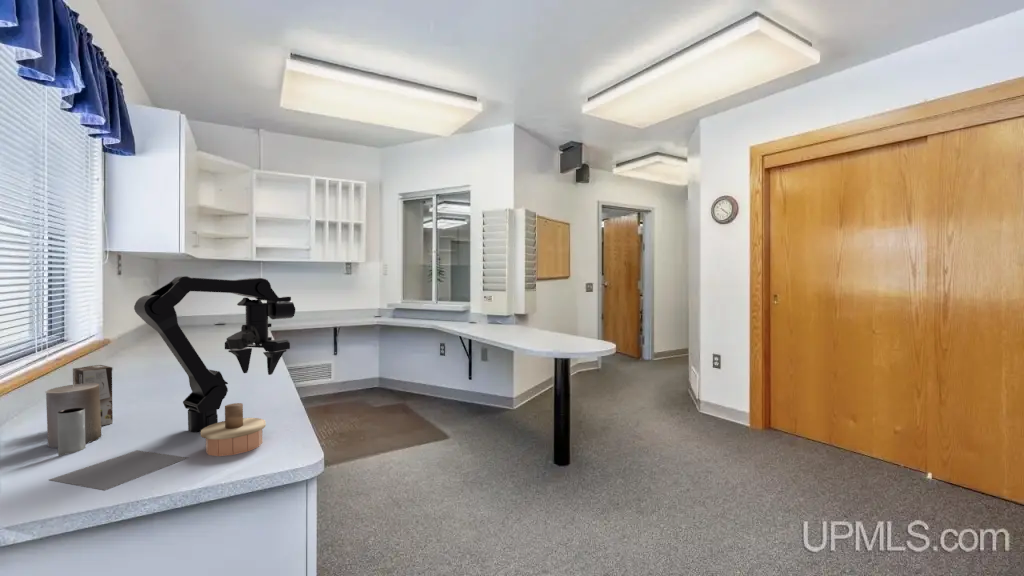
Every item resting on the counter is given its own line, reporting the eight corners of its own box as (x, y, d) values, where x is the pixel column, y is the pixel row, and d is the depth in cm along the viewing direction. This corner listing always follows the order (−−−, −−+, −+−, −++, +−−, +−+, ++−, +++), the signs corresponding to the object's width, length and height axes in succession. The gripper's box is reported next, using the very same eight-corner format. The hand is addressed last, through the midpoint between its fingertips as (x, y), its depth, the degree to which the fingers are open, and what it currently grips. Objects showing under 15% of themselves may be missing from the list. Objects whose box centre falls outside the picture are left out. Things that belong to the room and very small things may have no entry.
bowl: (194, 457, 101) (194, 435, 101) (237, 440, 112) (236, 420, 112) (232, 462, 98) (232, 439, 98) (272, 444, 109) (272, 424, 109)
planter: (54, 459, 100) (53, 414, 100) (63, 452, 104) (62, 409, 104) (81, 455, 102) (80, 411, 102) (88, 449, 106) (87, 406, 106)
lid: (186, 436, 100) (186, 410, 100) (236, 419, 113) (236, 396, 113) (231, 441, 97) (230, 415, 97) (278, 423, 109) (277, 400, 109)
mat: (48, 484, 88) (48, 479, 88) (137, 454, 103) (137, 450, 103) (105, 495, 83) (105, 490, 83) (189, 462, 98) (188, 457, 98)
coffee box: (114, 423, 126) (113, 366, 126) (83, 430, 121) (82, 370, 121) (102, 418, 131) (101, 363, 131) (73, 424, 126) (71, 367, 125)
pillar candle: (93, 432, 119) (91, 376, 118) (107, 438, 114) (105, 380, 113) (41, 444, 110) (39, 384, 110) (54, 451, 105) (52, 388, 105)
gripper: (206, 322, 125) (207, 377, 125) (259, 323, 120) (260, 381, 120) (241, 319, 136) (241, 370, 136) (291, 320, 131) (291, 373, 131)
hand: (257, 373), depth 130 cm, fingers open, 9 cm apart
